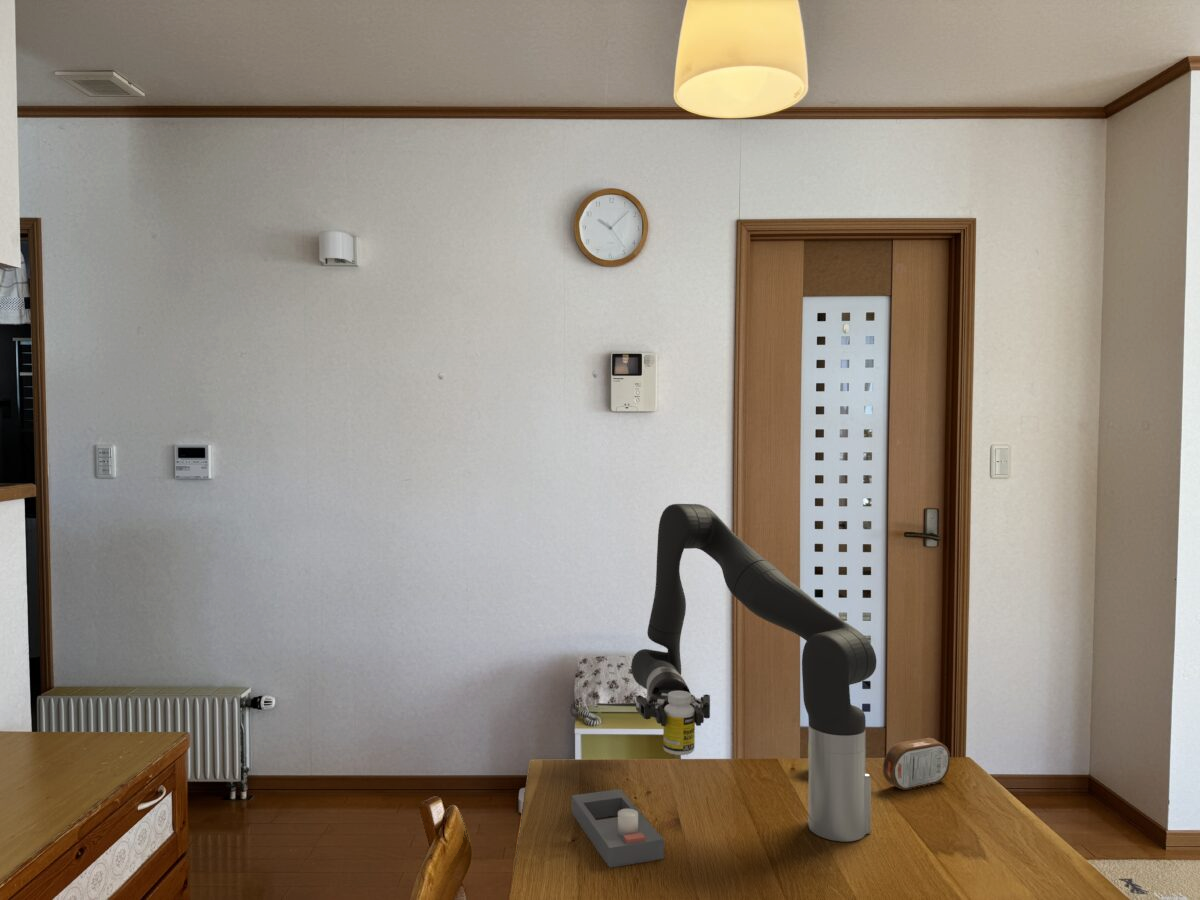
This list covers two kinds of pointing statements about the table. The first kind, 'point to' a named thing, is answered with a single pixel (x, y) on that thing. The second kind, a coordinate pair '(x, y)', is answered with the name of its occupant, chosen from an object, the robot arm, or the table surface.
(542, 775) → the table surface
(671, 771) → the table surface
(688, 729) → the supplement bottle
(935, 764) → the tin
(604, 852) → the grey square-hole tray
